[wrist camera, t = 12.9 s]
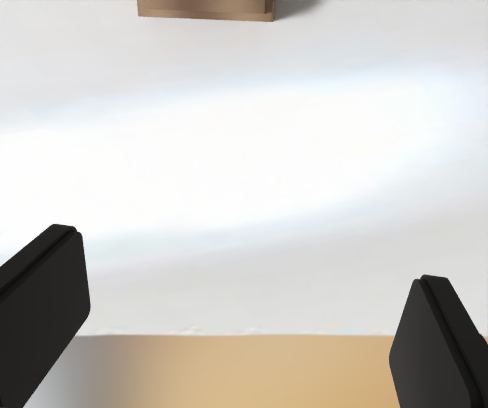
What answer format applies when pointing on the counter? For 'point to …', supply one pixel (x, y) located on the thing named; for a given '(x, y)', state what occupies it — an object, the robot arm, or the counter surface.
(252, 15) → the wooden stepped block
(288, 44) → the counter surface
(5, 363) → the robot arm
